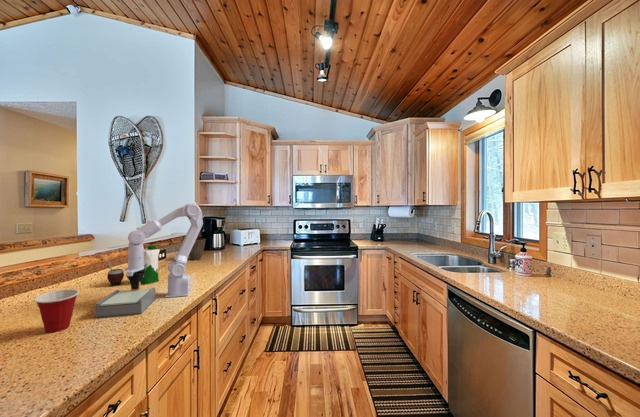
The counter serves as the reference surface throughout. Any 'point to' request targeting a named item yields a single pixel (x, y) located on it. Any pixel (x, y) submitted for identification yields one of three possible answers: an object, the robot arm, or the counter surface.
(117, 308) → the parts tub
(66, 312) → the plastic cup
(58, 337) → the counter surface
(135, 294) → the lid
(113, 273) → the mate gourd
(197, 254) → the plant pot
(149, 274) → the milk carton
